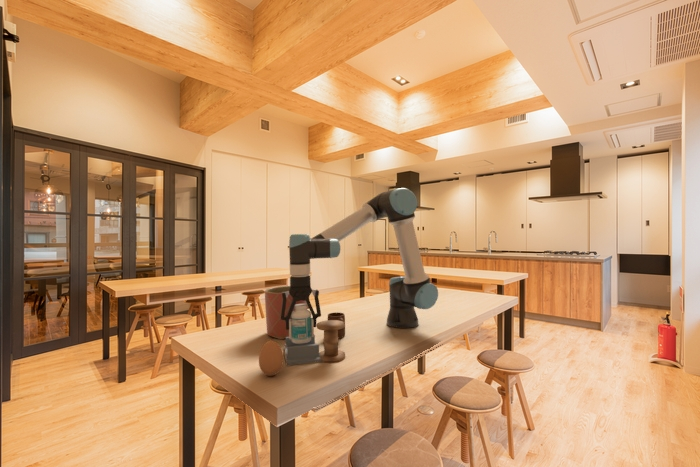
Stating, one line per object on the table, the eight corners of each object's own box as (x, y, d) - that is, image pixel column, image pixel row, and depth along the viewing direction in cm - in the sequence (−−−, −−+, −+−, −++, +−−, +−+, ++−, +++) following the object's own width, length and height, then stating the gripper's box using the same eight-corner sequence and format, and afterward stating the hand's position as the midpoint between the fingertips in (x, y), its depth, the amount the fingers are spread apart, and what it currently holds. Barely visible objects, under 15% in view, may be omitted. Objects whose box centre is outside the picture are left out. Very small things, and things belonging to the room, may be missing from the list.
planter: (278, 343, 131) (277, 294, 131) (258, 333, 145) (257, 289, 145) (316, 333, 143) (315, 288, 143) (294, 324, 157) (293, 284, 158)
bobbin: (341, 350, 120) (341, 319, 121) (348, 360, 111) (347, 326, 111) (315, 353, 118) (314, 321, 118) (319, 364, 108) (318, 329, 108)
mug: (352, 340, 132) (351, 317, 133) (334, 343, 130) (334, 319, 130) (341, 332, 144) (341, 311, 144) (325, 334, 141) (325, 313, 141)
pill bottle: (303, 336, 123) (303, 301, 123) (315, 341, 118) (314, 304, 118) (287, 341, 118) (286, 305, 118) (299, 346, 113) (298, 308, 113)
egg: (282, 379, 97) (281, 344, 97) (256, 381, 97) (256, 345, 97) (285, 369, 105) (284, 336, 105) (261, 370, 104) (261, 337, 104)
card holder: (314, 344, 128) (314, 332, 128) (321, 361, 111) (321, 347, 111) (284, 347, 125) (284, 335, 125) (286, 365, 108) (286, 351, 108)
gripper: (325, 273, 124) (326, 331, 124) (272, 275, 119) (273, 336, 119) (328, 275, 117) (330, 337, 117) (272, 278, 112) (273, 343, 112)
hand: (301, 336), depth 118 cm, fingers closed on pill bottle, 7 cm apart
